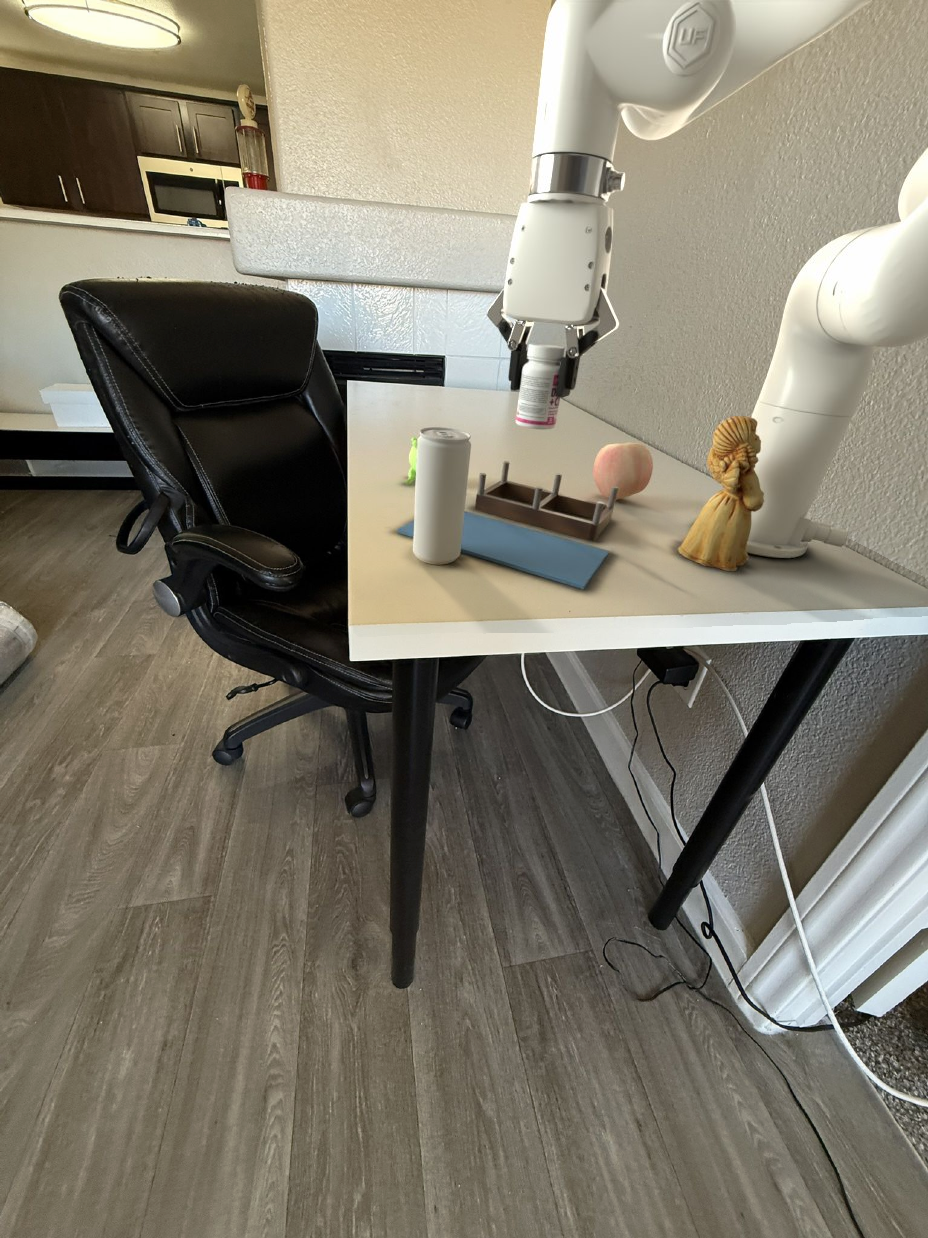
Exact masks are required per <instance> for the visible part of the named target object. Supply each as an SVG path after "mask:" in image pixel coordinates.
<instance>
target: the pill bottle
mask: <svg viewBox="0 0 928 1238" xmlns="http://www.w3.org/2000/svg"><path fill="white" fill-rule="evenodd" d="M527 350H528V353H527V356H528V357H527V359H529V361H528V362H527V363H525V364H524V365H523V367H522V374H521V382H520V390H518V391H519V392H518V400H517V406H516V407H517V408H516V414H515V424H516V425H518V426H519V427H522V428H527V429H532V430H541V431H542V430H551V429H554V428H555V427H556V425H557V419H558V413H559V407H560V402H561V397H557V396H556V390H557V383H558V377H559V370H560V364H561V359H562V358H563V357H565V347H564V346H562V345H561V346H560V345H553V344H543V343H529V344H528V345H527Z"/></svg>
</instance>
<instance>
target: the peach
mask: <svg viewBox="0 0 928 1238" xmlns="http://www.w3.org/2000/svg"><path fill="white" fill-rule="evenodd" d="M594 459H595V460H594V463H593V468H592V475H593V481H594V485H595V486H596V488H597V490H598V492H599V493H600V494H601V495H602V496H603V497H604V498H606V499H608V500H609V497H610V493H611V489H612V487H613V486H616V487H618V488H619V489H618V493H617V497H616V500H615V501H617V500H621V499H625V498H627V497H631V496H634V495H637V494H639V493H641V492H643V491H644V490H645V489H646V488H647V486H648V485H649V483H650V481H651V478H652V475H653V470H654V462H653V457H652V453H651V452H650V450H649V448H648V447H647V446H646V445H644V444H643V443H641V442H626V443H608V444H606V445H604V446H603V447H601V448H600V450H599V452H598V453H597V454H596V457H595V458H594Z"/></svg>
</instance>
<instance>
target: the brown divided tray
mask: <svg viewBox="0 0 928 1238" xmlns="http://www.w3.org/2000/svg"><path fill="white" fill-rule="evenodd" d="M502 462H503V464H502V471H501V477H500V480H499V481H497V482H496V483H493V484H492V485H490V486H488V487H487V488H486V479H487V473H486V472H480V473H479V477H478V485H477V493H476V495H475V503H474V510H476V511H479V512H483V513H487V514H489V515H490V514H491V515H494V516H498V517H502V518H505V519H509V520H513V521H517V522H520V523H524V524H528V525H531V526H534V527H538V528H542V529H546V530H549V531H554V532H557V533H560V534H564V535H568V536H571V537H576V538H580V539H583V540H586V541H589V542H595V541H596V540H597V538H598V537H599V536H600V535H601V533H602V532H603V531H604V530H605V528H606V527H607V526H608V525H609V524H610V522H611V521H612V517H613V514H614V510H615V504H616V501H617V500H616V497H617V493H618V489H619V488H618V487H616V486H613V487H612V489H611V493H610V497H609V499H608V502H607V504H605V502H603V501H600V500H598V501H592V500H588V499H584V498H580V497H576V496H571V495H568V494H565V493H564V494H563V493H560V487H561V482H562V478H563V477H562V476H563V474H562V473H560V472H556V473H555V476H554V481H553V486H552V490H547V489H544V488H543V487H542V486H536V487H535V486H532V485H531V486H530V485H527V484H522V483H518V482H515V481H510V480H508V475H509V469H510V462H509V461H507V460H504V461H502ZM503 497H505V498H503ZM507 498H508V499H507ZM510 499H513V500H517V501H513V500H510ZM519 501H520V502H519ZM522 502H524V503H525V504H524V503H522ZM526 503H529V504H532V505H529V504H526ZM554 510H556V511H560V512H556V511H554ZM561 512H564V513H567V514H564V513H561ZM568 514H571V515H576V517H575V516H571V515H568ZM577 516H578V517H577ZM579 516H580V517H583V518H587V519H583V518H580V517H579ZM588 519H590V520H588ZM591 520H592V521H591Z"/></svg>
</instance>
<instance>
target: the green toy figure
mask: <svg viewBox="0 0 928 1238" xmlns="http://www.w3.org/2000/svg"><path fill="white" fill-rule="evenodd" d="M417 441H418V438H416V437H415V436H413V437H411V445H412V447H411V448H410V451H409V453H408V461H409V464H410V469H409V470H408V478H407V479H406V481H405V485H406V486H408V485H410V484H411V483H412V482H413V481H414V480H416V462H417Z"/></svg>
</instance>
